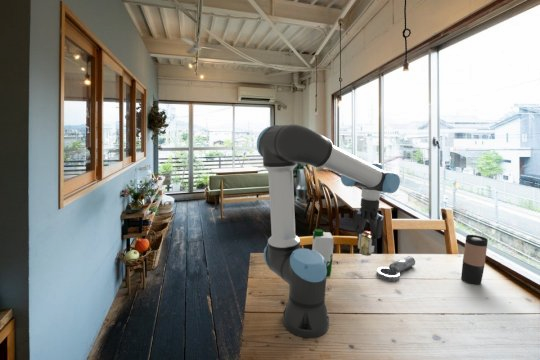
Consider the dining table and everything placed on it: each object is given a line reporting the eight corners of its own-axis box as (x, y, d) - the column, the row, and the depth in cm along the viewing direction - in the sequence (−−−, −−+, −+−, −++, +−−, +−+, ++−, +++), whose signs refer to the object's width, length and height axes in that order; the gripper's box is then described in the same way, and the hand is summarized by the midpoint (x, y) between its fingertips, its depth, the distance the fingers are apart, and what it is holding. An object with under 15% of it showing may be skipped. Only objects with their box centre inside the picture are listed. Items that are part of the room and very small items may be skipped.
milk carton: (310, 267, 131) (312, 227, 128) (329, 268, 131) (331, 227, 128) (312, 276, 122) (314, 233, 119) (333, 277, 122) (335, 234, 119)
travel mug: (474, 277, 125) (480, 235, 122) (486, 286, 117) (492, 241, 114) (456, 276, 126) (462, 234, 123) (466, 285, 118) (472, 240, 115)
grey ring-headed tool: (391, 283, 118) (392, 273, 117) (372, 274, 125) (373, 264, 125) (419, 269, 132) (420, 260, 131) (401, 262, 139) (402, 253, 138)
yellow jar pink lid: (366, 256, 119) (368, 234, 118) (357, 252, 123) (359, 231, 122) (373, 254, 122) (375, 233, 120) (364, 250, 126) (366, 229, 124)
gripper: (394, 201, 114) (389, 255, 117) (358, 194, 128) (354, 242, 131) (384, 203, 110) (378, 259, 113) (348, 195, 124) (344, 245, 127)
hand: (365, 249), depth 122 cm, fingers closed on yellow jar pink lid, 5 cm apart
